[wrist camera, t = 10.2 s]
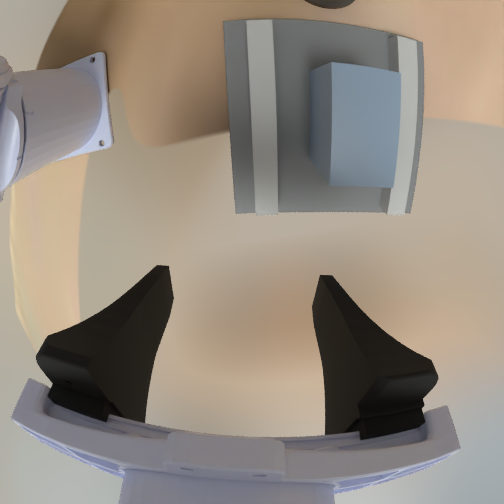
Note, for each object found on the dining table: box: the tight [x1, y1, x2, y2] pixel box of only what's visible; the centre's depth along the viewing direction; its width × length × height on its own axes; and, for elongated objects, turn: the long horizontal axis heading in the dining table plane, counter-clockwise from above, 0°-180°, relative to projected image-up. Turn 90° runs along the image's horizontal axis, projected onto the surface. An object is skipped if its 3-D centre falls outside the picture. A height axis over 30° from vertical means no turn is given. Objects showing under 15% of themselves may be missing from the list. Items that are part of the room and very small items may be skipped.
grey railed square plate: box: [223, 19, 424, 215], centre depth 16 cm, size 14×14×2 cm
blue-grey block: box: [309, 62, 401, 188], centre depth 13 cm, size 4×6×6 cm, turn 3°
